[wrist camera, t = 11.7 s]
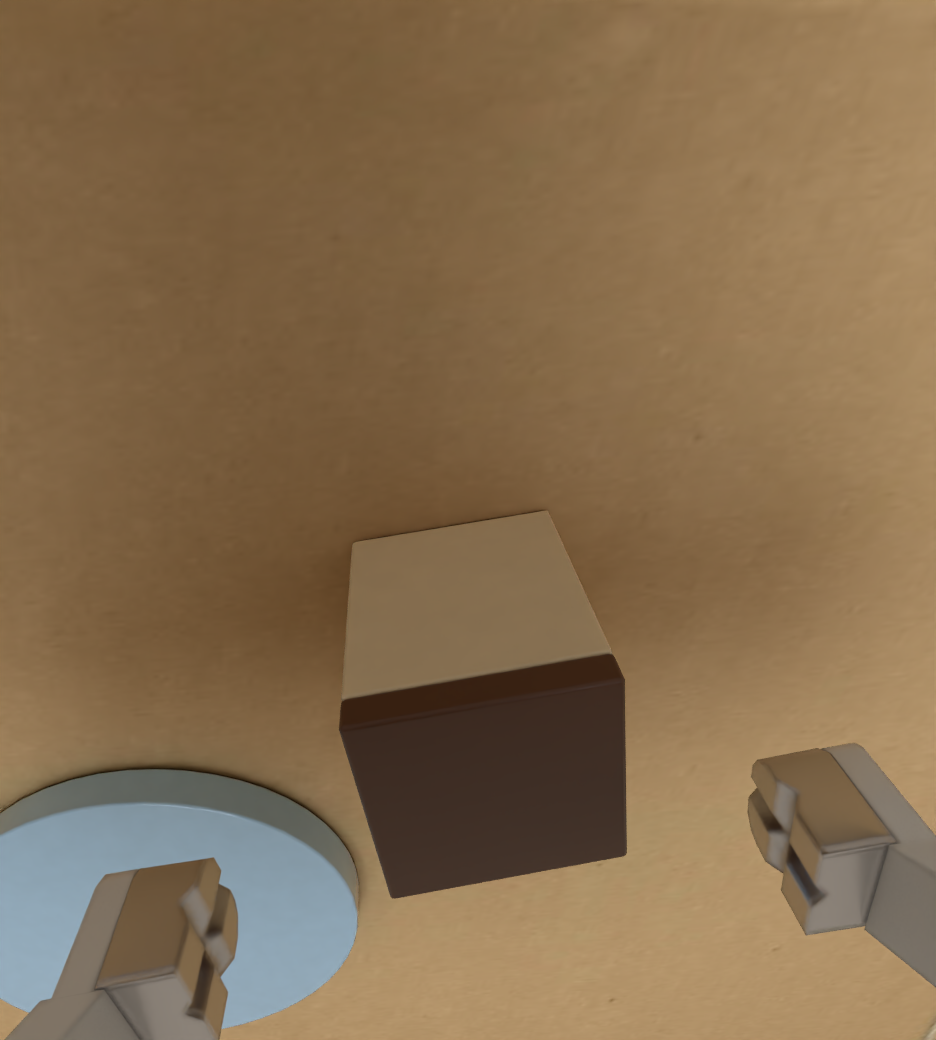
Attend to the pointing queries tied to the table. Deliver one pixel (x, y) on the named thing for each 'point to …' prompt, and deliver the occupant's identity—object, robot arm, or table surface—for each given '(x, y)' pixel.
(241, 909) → the plate
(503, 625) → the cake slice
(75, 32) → the table surface
